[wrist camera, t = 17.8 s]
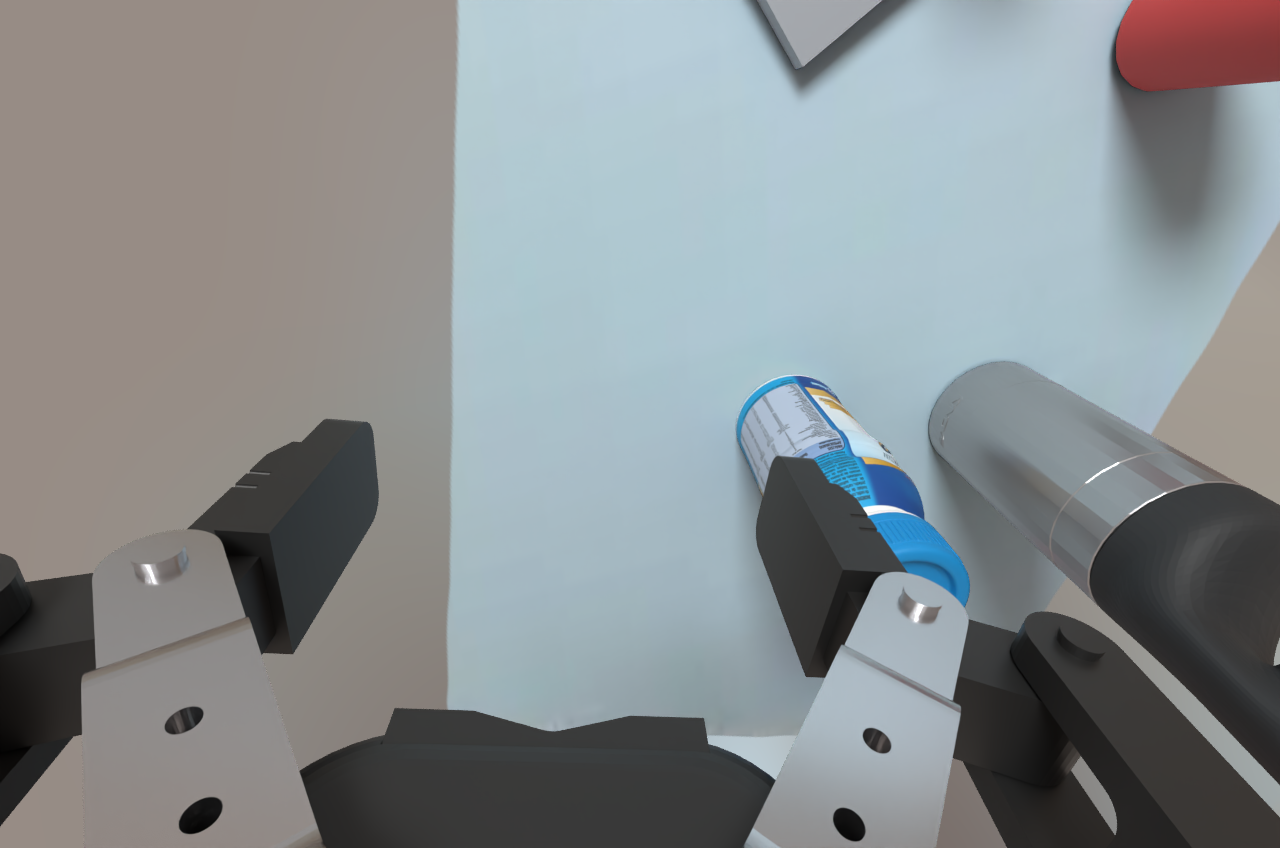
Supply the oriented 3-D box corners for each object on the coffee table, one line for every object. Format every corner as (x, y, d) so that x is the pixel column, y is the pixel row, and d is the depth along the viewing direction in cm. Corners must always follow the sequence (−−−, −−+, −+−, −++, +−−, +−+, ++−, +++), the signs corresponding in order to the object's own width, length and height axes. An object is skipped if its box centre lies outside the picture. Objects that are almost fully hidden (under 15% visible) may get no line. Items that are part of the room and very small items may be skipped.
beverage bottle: (737, 370, 43) (831, 534, 25) (848, 369, 44) (1016, 531, 26) (727, 467, 47) (803, 669, 29) (829, 466, 48) (965, 665, 30)
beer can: (1089, 85, 36) (1294, 64, 25) (1140, -47, 33) (1396, -133, 23) (1185, 98, 37) (1424, 83, 26) (1243, -30, 34) (1539, -107, 23)
